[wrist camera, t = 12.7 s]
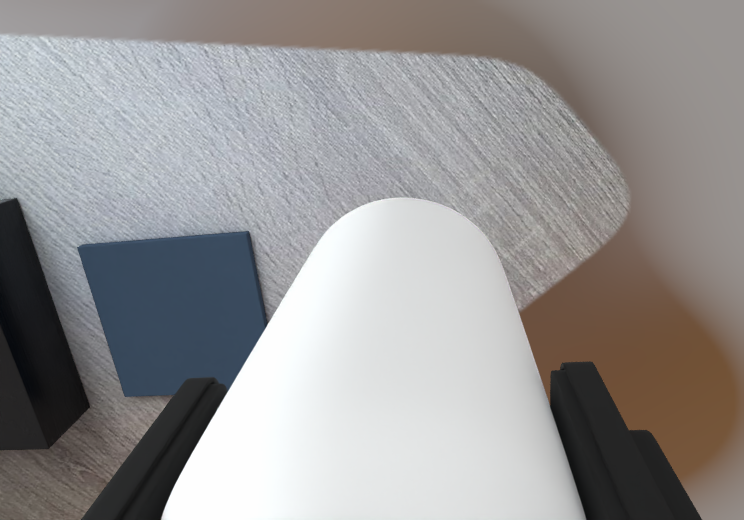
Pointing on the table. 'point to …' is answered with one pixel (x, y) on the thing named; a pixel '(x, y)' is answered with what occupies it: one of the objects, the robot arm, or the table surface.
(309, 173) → the table surface
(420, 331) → the can
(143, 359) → the mat
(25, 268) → the black box
